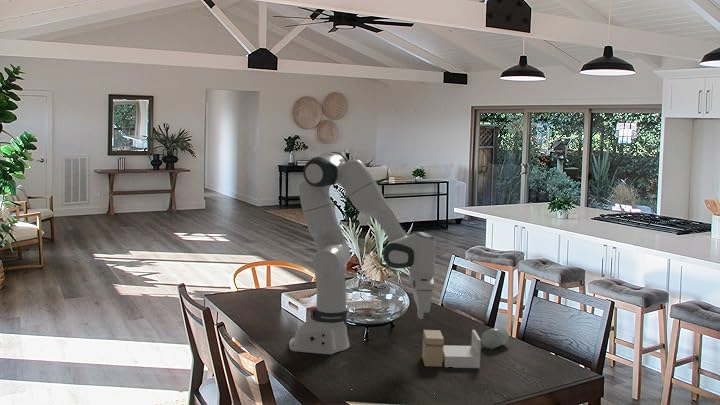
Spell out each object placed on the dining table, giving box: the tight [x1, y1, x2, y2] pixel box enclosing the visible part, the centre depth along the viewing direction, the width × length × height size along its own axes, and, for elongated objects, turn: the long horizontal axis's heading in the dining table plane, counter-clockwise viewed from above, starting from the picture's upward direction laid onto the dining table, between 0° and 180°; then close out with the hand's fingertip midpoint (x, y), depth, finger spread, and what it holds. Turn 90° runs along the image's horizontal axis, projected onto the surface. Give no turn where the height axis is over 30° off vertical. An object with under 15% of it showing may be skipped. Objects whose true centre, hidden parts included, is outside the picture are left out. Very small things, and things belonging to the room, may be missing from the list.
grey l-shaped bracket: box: [442, 329, 482, 369], centre depth 231 cm, size 12×11×10 cm
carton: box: [421, 329, 445, 367], centre depth 231 cm, size 10×9×6 cm
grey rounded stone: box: [480, 325, 510, 350], centre depth 248 cm, size 7×7×8 cm
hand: (420, 317), depth 229 cm, fingers closed
